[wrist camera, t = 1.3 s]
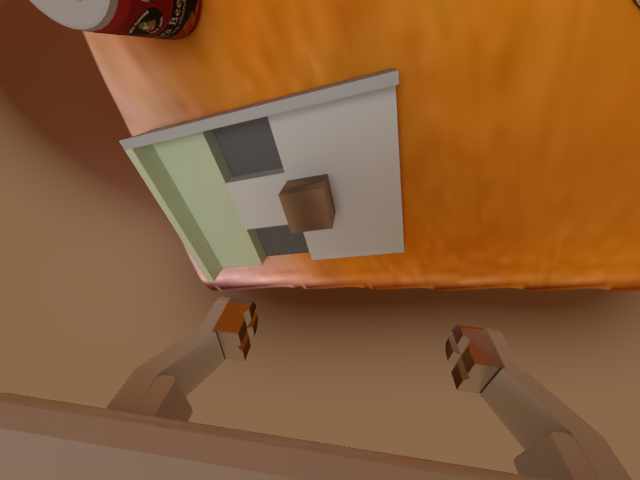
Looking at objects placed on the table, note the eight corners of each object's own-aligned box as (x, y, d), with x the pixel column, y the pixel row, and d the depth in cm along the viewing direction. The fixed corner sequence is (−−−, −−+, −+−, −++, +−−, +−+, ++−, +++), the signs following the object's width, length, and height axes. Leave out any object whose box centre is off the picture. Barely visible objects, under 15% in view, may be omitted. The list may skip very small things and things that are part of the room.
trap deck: (392, 68, 25) (398, 70, 20) (402, 241, 36) (407, 266, 32) (153, 129, 32) (118, 141, 27) (224, 258, 43) (208, 281, 39)
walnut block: (327, 173, 29) (323, 187, 26) (335, 211, 32) (332, 228, 29) (287, 180, 31) (278, 194, 27) (298, 216, 33) (291, 233, 30)
